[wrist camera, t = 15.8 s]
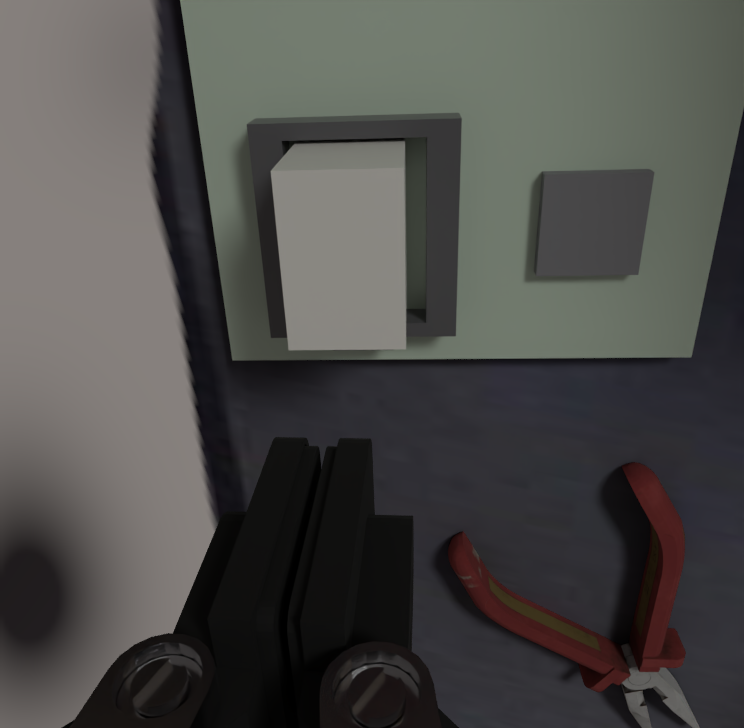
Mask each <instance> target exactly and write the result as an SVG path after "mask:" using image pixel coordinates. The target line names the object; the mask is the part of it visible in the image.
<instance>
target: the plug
mask: <svg viewBox="0 0 744 728" xmlns="http://www.w3.org/2000/svg"><path fill="white" fill-rule="evenodd" d="M271 180H272V190H273V200H274V210H275V220H276V230H277V240H278V249H279V259H280V269H281V279H282V289H283V299H284V309H285V319H286V329H287V339H288V349H289V350H395V349H406V309H407V262H406V157H405V138H374V139H336V140H298V141H296V143H295V144H294V145H293V146H292V147H291V148H290V149H289V151H288V152H287V153H286V154H285V155H284V156H283V157H282V159H281V160H280V161H279V162H278V163H277V164H276V165H275V167H274V168H273V169H272V170H271Z"/></svg>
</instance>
